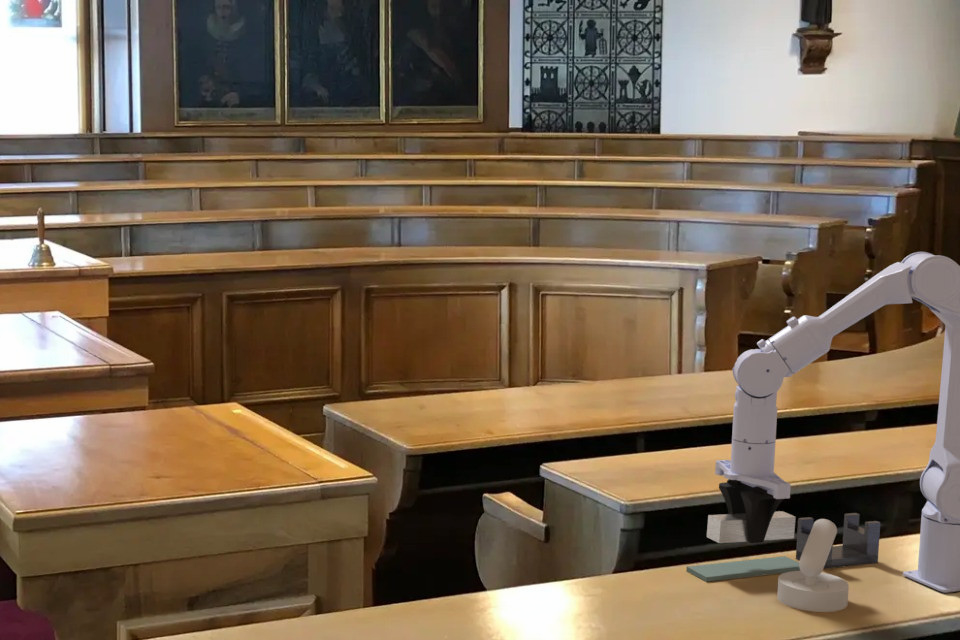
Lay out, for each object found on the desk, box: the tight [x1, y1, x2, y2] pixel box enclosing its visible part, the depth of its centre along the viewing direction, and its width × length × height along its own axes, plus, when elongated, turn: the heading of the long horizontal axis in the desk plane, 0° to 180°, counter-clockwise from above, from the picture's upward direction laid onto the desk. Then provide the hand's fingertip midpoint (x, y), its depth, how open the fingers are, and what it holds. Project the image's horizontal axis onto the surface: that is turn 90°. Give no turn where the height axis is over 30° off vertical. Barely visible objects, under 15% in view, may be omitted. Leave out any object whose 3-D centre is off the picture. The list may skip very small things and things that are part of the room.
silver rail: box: [706, 510, 797, 544], centre depth 172 cm, size 12×3×3 cm, turn 113°
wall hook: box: [776, 518, 849, 613], centre depth 161 cm, size 9×10×10 cm
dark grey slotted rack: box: [795, 512, 881, 570], centre depth 178 cm, size 10×5×6 cm, turn 113°
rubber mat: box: [685, 555, 801, 582], centre depth 173 cm, size 16×5×1 cm, turn 113°
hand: (748, 538), depth 172 cm, fingers closed on silver rail, 3 cm apart
